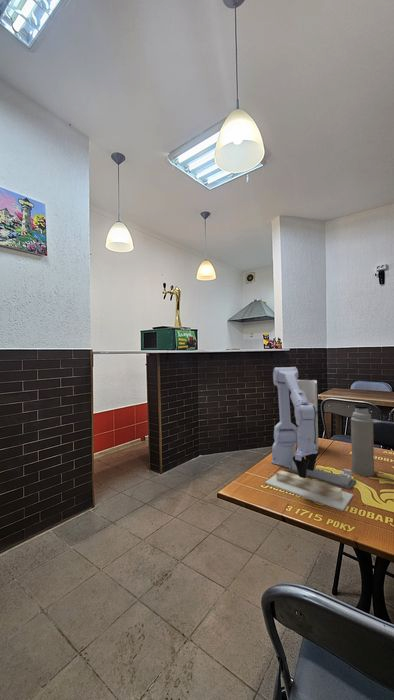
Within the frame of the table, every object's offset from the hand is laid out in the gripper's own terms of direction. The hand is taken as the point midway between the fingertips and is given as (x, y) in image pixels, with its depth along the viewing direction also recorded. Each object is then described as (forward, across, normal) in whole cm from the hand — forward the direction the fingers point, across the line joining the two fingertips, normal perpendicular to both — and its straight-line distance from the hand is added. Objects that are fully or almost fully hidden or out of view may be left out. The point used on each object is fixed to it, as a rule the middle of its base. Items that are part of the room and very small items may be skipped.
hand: (306, 473), depth 103 cm
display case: (+6, +41, +16) cm, 44 cm away
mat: (+6, 0, 0) cm, 6 cm away
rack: (+6, +14, 0) cm, 15 cm away
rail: (+5, 0, 0) cm, 5 cm away
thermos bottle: (+6, +29, -12) cm, 32 cm away
